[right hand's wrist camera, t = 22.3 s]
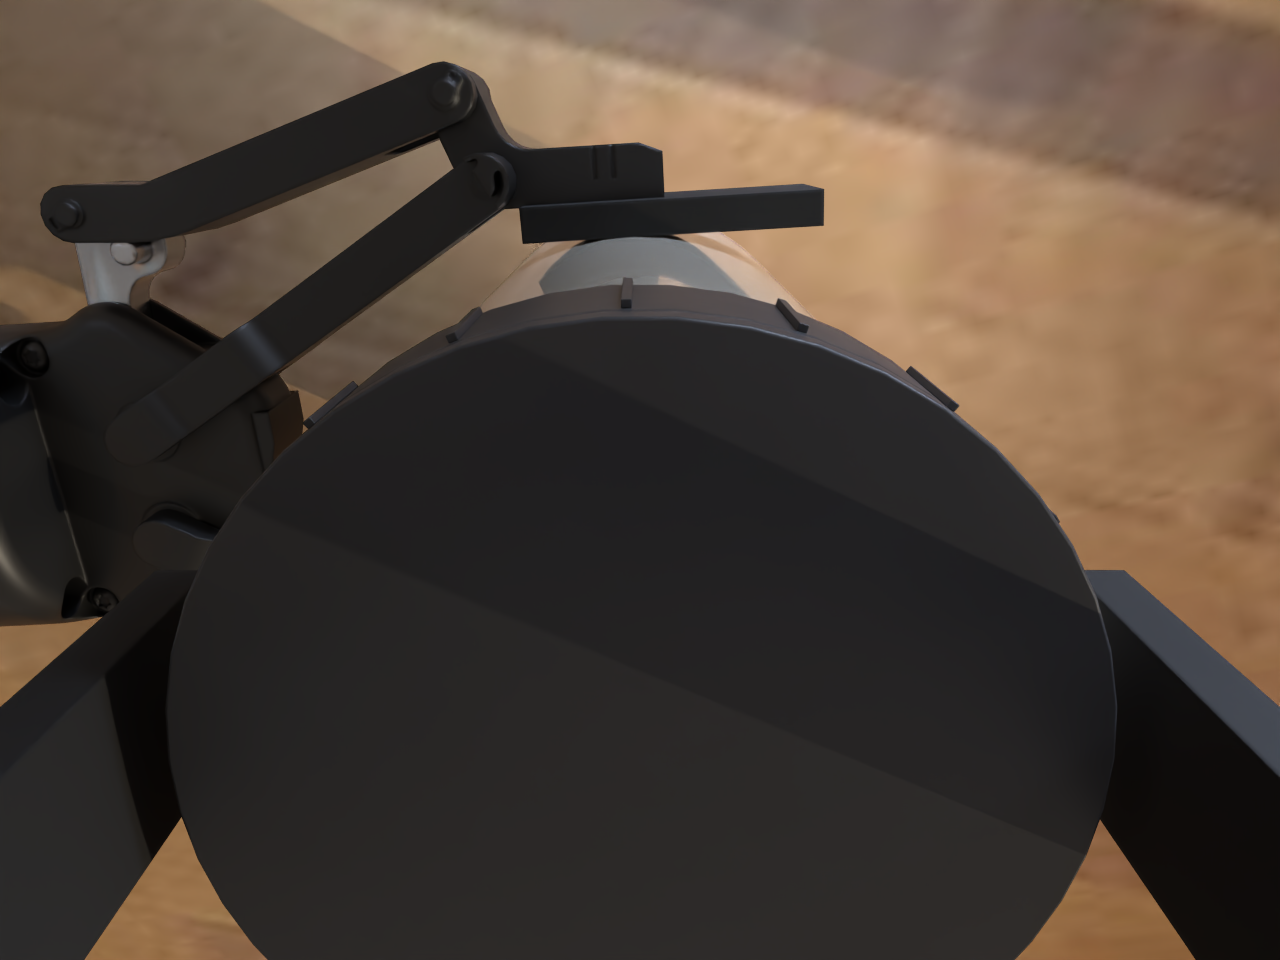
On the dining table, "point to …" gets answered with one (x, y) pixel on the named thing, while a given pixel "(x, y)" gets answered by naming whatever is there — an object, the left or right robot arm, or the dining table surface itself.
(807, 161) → the dining table surface
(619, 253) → the jar
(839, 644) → the lid
